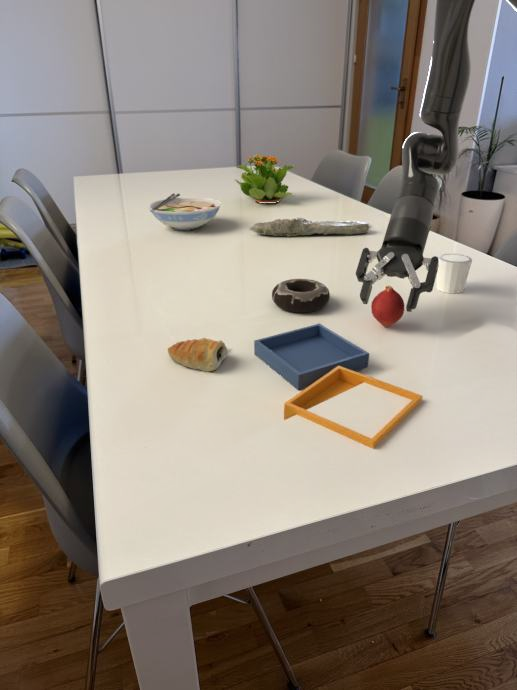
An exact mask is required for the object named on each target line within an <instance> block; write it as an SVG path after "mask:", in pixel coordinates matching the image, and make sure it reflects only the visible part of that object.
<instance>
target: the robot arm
mask: <svg viewBox="0 0 517 690" xmlns="http://www.w3.org/2000/svg"><path fill="white" fill-rule="evenodd" d="M505 1H506V2H507V3H508V4H509V5H510V6H511V7H512V8H513V9H514V11H516V12H517V0H505ZM475 2H476V0H436V5H435V15H434V29H433V43H432V51H431V60H430V65H429V71H428V76H427V79H426V80H427V81H426V85H425V88H424V93H423V98H422V102H421V107H420V111H419V112H420V113H419V117H420V120H421V121H422V122H423V124H425V125H427V126H429V127H431V128H434V129H435V130H437V131H439V132H440V133H441V135H439V134H434V133H427V132H421V131H419V132H418V131H417V132H413V133H411V134H410V135H409V136H408V137H407V138H405V141H404V142H403V144H402V149H401V165H402V175H401V176H402V177H401V184H400V188H399V190H398V191H399V192H398V195H397V198H396V201H395V204H394V206H393V208H392V211H391V213H390V217H389V219H388V224H387V226H386V227H387V228H386V230H385V233H384V237H383V240H382V243H381V247H380V248H379V249H378V251H374V250H370V249H369V247H364V248H363V249H362V250H361V253H360V257H359V261H358V264H357V267H356V270H355V276H356V279H357V282H359V283H362V286H361V289H360V293H359V298H360V300H361V303H362V304H363V305H368V303H369V300H370V297H371V293H372V290H373V285H374V284H375V283H376V282H377V281H379V280H380V281H381V280H382V279H383V278H384V277H385V276H387V277H391V278H393V277H396V278H398V279H406V278H407V279H408V281H409V284H410V285H411V288H410V290H409V291H410V292H409V295H408V299H407V303H406V305H405V306H406V307H405V309H406V312H407V313H408V312H409V313H411V312H412V311H413V310H415V309H417V306H418V302H419V299H420V295H421V294H422V293H431V292H432V291H433V290H434V285H435V282H436V279H437V271H438V267H439V260H438V256H435V255H433V256H432V257H431V258H430V257H424V253H425V249H426V245H427V241H428V237H429V233H430V232H431V229H432V222H433V216H434V212H435V211H434V210H435V207H436V203H437V199H438V195H439V192H440V182H439V181H438V179H437V178H436V177H435V176H433V175H437V176H447V175H448V174H450V173H451V172H452V171H453V170H454V169H455V167H456V166H457V163H458V160H459V153H460V152H459V151H460V150H459V149H460V148H459V147H460V145H459V144H460V143H459V129H460V128H459V126H460V120H461V114H462V109H463V107H464V103H465V99H466V95H467V92H468V88H469V84H470V80H471V71H472V70H471V69H472V68H471V67H472V65H471V55H470V46H469V25H470V19H471V16H472V11H473V8H474V5H475ZM374 260H377V263H376V264H375V265H374V266H373V267H372V268H371V270H370V271H369V272H368V273H367V271H368V267H369V265H370V264H372V263H373V262H374ZM423 265H424V266H425V270H426V271H427V273H426V277H425V280H424V281H423V282H420V280H419V279H420V278H419V277H418V275H417V271H418V269H420V268H421V267H422V266H423Z"/></svg>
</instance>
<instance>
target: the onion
mask: <svg viewBox="0 0 517 690" xmlns="http://www.w3.org/2000/svg"><path fill="white" fill-rule="evenodd" d="M370 308H371V315H372V317H373V318H374V319H375V320H376V321H377V322H378V323H380V324H381V326H382V327H384V328H388V327H390V326H393V325H394V324H397V323H398V321H399V320H401V319H402V317H403V315H404V313H405V301H404V299H403V296H401V294H400V293H399V292H397V290H395V289H394V287H393V286H391V285H386V286H385V289H384V290H382V291H379V293H377V295H375V296H374V298H373V299H372V301H371V305H370Z"/></svg>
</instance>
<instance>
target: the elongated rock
mask: <svg viewBox="0 0 517 690" xmlns="http://www.w3.org/2000/svg"><path fill="white" fill-rule="evenodd" d="M369 226H370V223H369V222H368V223H367V222H365V221H356V220H343V221H340V220H339V221H336V220H326V221H323V220H322V221H321V220H320V221H313V220H308V219H306V218H304V217H297V218H291V219H289V218H284V219H281V218H277V219H274V220H271V221H265V222H256V223H254V224H253V225H252V231H253V232H254V233H257V234H258V235H267V236H273V237H282V236H284V237H287V238H290V237H297V236H311V235H314V234H318V235H321V234H322V235H324V236H326V235H335V234H336V235H346V236H347V235H349V236H352V235H356V234H357V235H359V234H367V233H368V232H369V229H370V227H369Z"/></svg>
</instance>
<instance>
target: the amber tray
mask: <svg viewBox="0 0 517 690" xmlns="http://www.w3.org/2000/svg"><path fill="white" fill-rule="evenodd" d="M364 383H365V384H367V385H369V386H374V387H375V388H378V389H381V390H384V391H385V392H386V391H387V392H389V393H391V394H395V395H397V396H400V397H403V398H405V399H408V400H410V401H409V402H408V403H407V404H406V405H405V406H404V407H403V408H402V409H401V410H400V411H399V412H398V413H397V414H396V415H394V417H392V419H391V420H390V421H388V422H387V424H385V425H384V427H382V428H381V429H380V430H379V431H378V432H377V433H376V434H375V435H374V436H373V437H372V438H371V437H369V436H366V435H365V434H362V433H360V432H357V431H355V430H353V429H350V428H348V427H346V426H344V425H341V424H339V423H337V422H335V421H332V420H330V419H328V418H325V417H323V416H321V415H318V414H316V413H314V412H312V411H310V410H309V409H311V408H313V407H316V406H317V405H320V404H321V403H324V402H326V401H328V400H330V399H332V398H334V397H336V396H339V395H341V394H343V393H345V392H347V391H349V390H351V389H354V388H356V387H357V386H359V385H362V384H364ZM422 401H423V395H421V394H419V393H416V392H414V391H411V390H408V389H405V388H402V387H399V386H398V385H397V386H396V385H393V384H392V383H388V382H385V381H383V380H380V379H378V378H374V377H371V376H369V375H367V374H363V373H360V372H359V371H356V372H355V371H352V370H349V369H347V368H344V367H341V366H337V367H336V368H334V369H333V370H331V371H330V372H329V373H327V374H326V375H324V376H323V377H321V378H320V379H319V380H317V381H316V382H314V383H313V384H311V385H310V386H309V387H307V388H304V389H302V390H300V392H298V393H297V394H295V395H294V396H293V397H292V398H290V399H288V400H287V401H285V402H284V403H283V404H284V405H283V420H284V421H286V420H289V419H290V418H292V417H295V416H299V417H301V418H303V419H306V420H308V421H310V422H312V423H314V424H317V425H318V426H321V427H324V428H326V429H328V430H330V431H332V432H334V433H337V434H339V435H341V436H344V437H346V438H347V439H348V438H349V439H350V440H352V441H354V442H357V443H359V444H361V445H364V446H366V447H368V448H370V449H375V447H376V446H377V445H378V444H379V443H381V442H382V440H384V439H385V438H386V437H387V436H388V434H390V433H391V432H392V431H393V430H394V429H395V428H396V427H397V426H398V425H399V424H401V422H402V421H403V420H404V419H405V418H406V417H407V416H408V415H409V414H410V413H411V412H412V411H413V410H414V409H415V408H417V406H418V405H419V404H420V403H422Z"/></svg>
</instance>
